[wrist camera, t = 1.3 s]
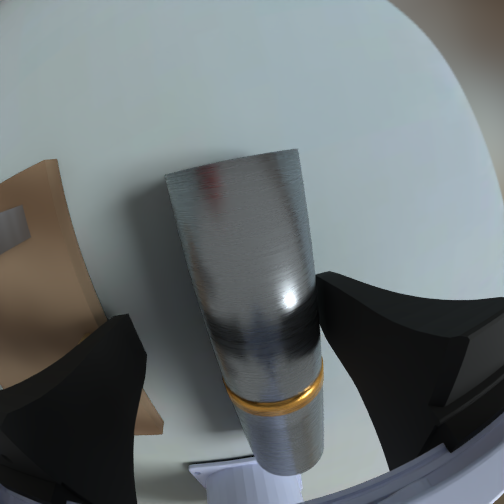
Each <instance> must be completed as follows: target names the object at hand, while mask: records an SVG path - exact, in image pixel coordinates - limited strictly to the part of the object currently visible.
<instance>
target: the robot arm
mask: <svg viewBox="0 0 504 504" xmlns="http://www.w3.org/2000/svg"><path fill="white" fill-rule="evenodd" d="M315 279H316V289H317V300H318V312H319V324H320V326H321V328H322V331H323V333H324V335H325V337H326V339H327V341H328V343H329V344H330V346H331V347H332V349H333V350H334V352H335V354H336V355H337V357H338V358H339V360H340V361H341V363H342V364H343V366H344V368H345V369H346V371H347V372H348V374H349V375H350V377H351V378H352V380H353V382H354V384H355V385H356V387H357V389H358V391H359V393H360V395H361V398H362V400H363V402H364V404H365V406H366V408H367V411H368V413H369V416H370V418H371V420H372V423H373V425H374V427H375V430H376V433H377V435H378V438H379V441H380V443H381V446H382V449H383V452H384V455H385V458H386V461H387V464H388V467H389V470H390V471H389V472H387V473H385V474H383V475H380V476H378V477H376V478H374V479H371V480H369V481H366V482H364V483H361V484H359V485H356V486H353V487H350V488H348V489H345V490H342V491H339V492H336V493H333V494H330V495H326V496H323V497H320V498H316V499H312V500H309V501H305V502H304V501H303V498H302V494H301V490H302V489H303V488H302V481H301V474H298V475H293V476H278V475H274V474H271V473H269V472H267V471H265V470H264V469H263V468H261V467H260V465H259V464H258V463H257V461H256V459H255V457H249V458H243V459H237V460H230V461H222V462H213V463H203V464H192V465H189V471H190V473H191V474H192V475H193V476H194V477H195V478H196V479H197V480H198V481H199V482H200V483H201V485H202V486H203V487H204V488H205V489H206V490H207V504H492V503H494V502H495V501H496V500H497V499H498V498H499V497H500V496H501V495H502V494H503V493H504V297H497V298H488V299H479V300H440V299H429V298H421V297H415V296H410V295H405V294H400V293H396V292H392V291H388V290H385V289H381V288H378V287H375V286H372V285H369V284H366V283H363V282H360V281H357V280H355V279H352V278H349V277H346V276H344V275H341V274H338V273H334V272H330V271H328V272H324V273H320V274H316V275H315ZM146 361H147V354H146V352H145V350H144V348H143V345H142V343H141V341H140V339H139V337H138V335H137V332H136V330H135V328H134V326H133V323H132V321H131V319H130V316H129V314H124V315H118V316H114V317H113V318H111V319H109V320H108V321H107V322H105V323H104V324H103V325H101V326H100V327H99V328H98V329H96V330H95V331H94V332H93V333H92V334H90V335H89V336H88V337H87V338H86V339H84V340H83V341H82V342H81V343H79V344H78V345H77V346H76V347H74V348H73V349H72V350H71V351H69V352H68V353H67V354H66V355H64V356H63V357H62V358H60V359H59V360H57V361H56V362H55V363H53V364H51V365H50V366H48V367H47V368H45V369H44V370H42V371H40V372H39V373H37V374H35V375H33V376H31V377H29V378H28V379H26V380H24V381H22V382H20V383H17V384H15V385H13V386H11V387H8V388H6V389H3V390H0V504H137V499H136V492H135V481H134V463H133V447H134V429H135V422H136V417H137V412H138V407H139V402H140V398H141V393H142V389H143V384H144V380H145V374H146Z"/></svg>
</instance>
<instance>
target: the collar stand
mask: <svg viewBox="0 0 504 504" xmlns="http://www.w3.org/2000/svg"><path fill="white" fill-rule="evenodd" d="M107 321H108V320H107V318H106V316H105V314H104V311H103V309H102V307H101V304H100V302H99V299H98V297H97V295H96V292H95V290H94V287H93V284H92V282H91V279H90V277H89V274H88V271H87V268H86V266H85V263H84V260H83V257H82V254H81V251H80V248H79V245H78V242H77V239H76V235H75V232H74V229H73V225H72V222H71V218H70V214H69V211H68V207H67V203H66V199H65V195H64V190H63V186H62V181H61V177H60V172H59V167H58V161H57V159H50V160H43V161H41V162H39V163H37V164H35V165H33V166H31V167H29V168H27V169H26V170H24V171H22V172H20V173H18V174H16V175H14V176H13V177H11V178H9V179H7V180H6V181H4V182H2V183H0V385H1V386H2V387H3V389H6V388H8V387H11V386H13V385H15V384H17V383H20V382H22V381H24V380H26V379H28V378H29V377H31V376H33V375H35V374H37V373H39V372H40V371H42V370H44V369H45V368H47V367H48V366H50V365H51V364H53V363H55V362H56V361H57V360H59V359H60V358H62V357H63V356H64V355H66V354H67V353H68V352H69V351H71V350H72V349H73V348H74V347H76V346H77V345H78V344H79V343H81V342H82V341H83V340H84V339H86V338H87V337H88V336H89V335H90V334H92V333H93V332H94V331H95V330H96V329H98V328H99V327H100V326H101V325H103V324H104V323H105V322H107ZM163 425H164V421H163V420H162V418H161V417H160V415H159V414H158V412H157V411H156V409H155V407H154V406H153V404H152V403H151V401H150V399H149V398H148V396H147V394H146V393H145V391H144V389H142V393H141V398H140V402H139V407H138V412H137V417H136V422H135V429H134V435H159V434H163Z"/></svg>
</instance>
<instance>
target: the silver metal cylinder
mask: <svg viewBox="0 0 504 504" xmlns="http://www.w3.org/2000/svg"><path fill="white" fill-rule="evenodd" d="M165 179H166V183H167V187H168V192H169V196H170V200H171V205H172V209H173V213H174V217H175V221H176V225H177V229H178V233H179V236H180V240H181V244H182V248H183V251H184V255H185V259H186V262H187V266H188V269H189V273H190V276H191V280H192V283H193V287H194V290H195V293H196V297H197V300H198V303H199V307H200V310H201V313H202V316H203V319H204V322H205V326H206V329H207V332H208V335H209V338H210V341H211V344H212V347H213V350H214V353H215V356H216V358H217V361H218V364H219V367H220V370H221V373H222V377H223V382H224V385H225V387H226V390H227V393H228V395H229V397H230V399H231V401H232V402H233V405H234V408H235V410H236V413H237V415H238V418H239V420H240V423H241V425H242V428H243V430H244V433H245V435H246V438H247V440H248V442H249V445H250V447H251V449H252V452H253V454H254V456H255V459H256V461H257V463H258V464H259V465H260V467H261V468H263V469H264V470H265V471H267V472H269V473H271V474H274V475H278V476H293V475H298V474H301V473H303V472H306V471H307V470H309V469H311V468H312V467H313V466H314V465H315V464H316V463H317V462H318V461H319V460H320V458H321V456H322V453H323V450H324V408H323V380H324V372H323V359H322V355H321V339H320V325H319V312H318V300H317V289H316V279H315V269H314V260H313V251H312V242H311V234H310V226H309V219H308V211H307V204H306V197H305V191H304V184H303V178H302V171H301V165H300V159H299V153H298V149H290V150H283V151H277V152H270V153H264V154H258V155H253V156H247V157H242V158H236V159H231V160H226V161H222V162H217V163H212V164H208V165H203V166H199V167H194V168H190V169H186V170H182V171H178V172H174V173H170V174H166V175H165Z"/></svg>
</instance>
